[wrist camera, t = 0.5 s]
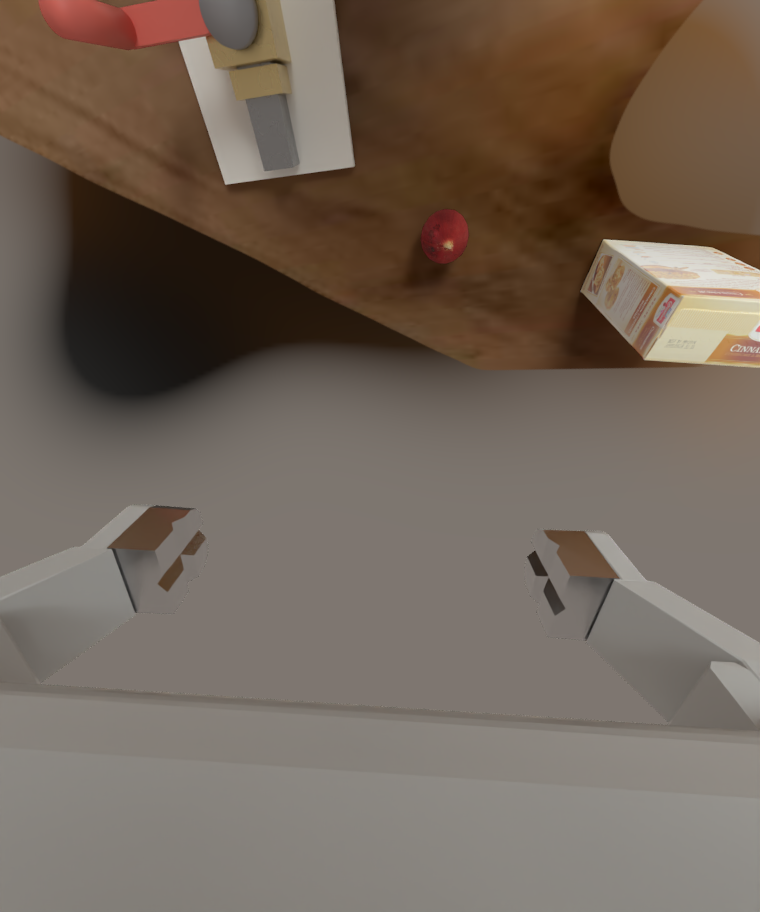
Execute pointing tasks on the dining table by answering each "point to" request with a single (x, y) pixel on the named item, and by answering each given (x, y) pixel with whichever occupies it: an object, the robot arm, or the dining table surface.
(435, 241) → the onion
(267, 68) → the valve and pipe
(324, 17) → the mounting board
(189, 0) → the lever
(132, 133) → the dining table surface
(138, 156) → the dining table surface
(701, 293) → the coffeecake box
